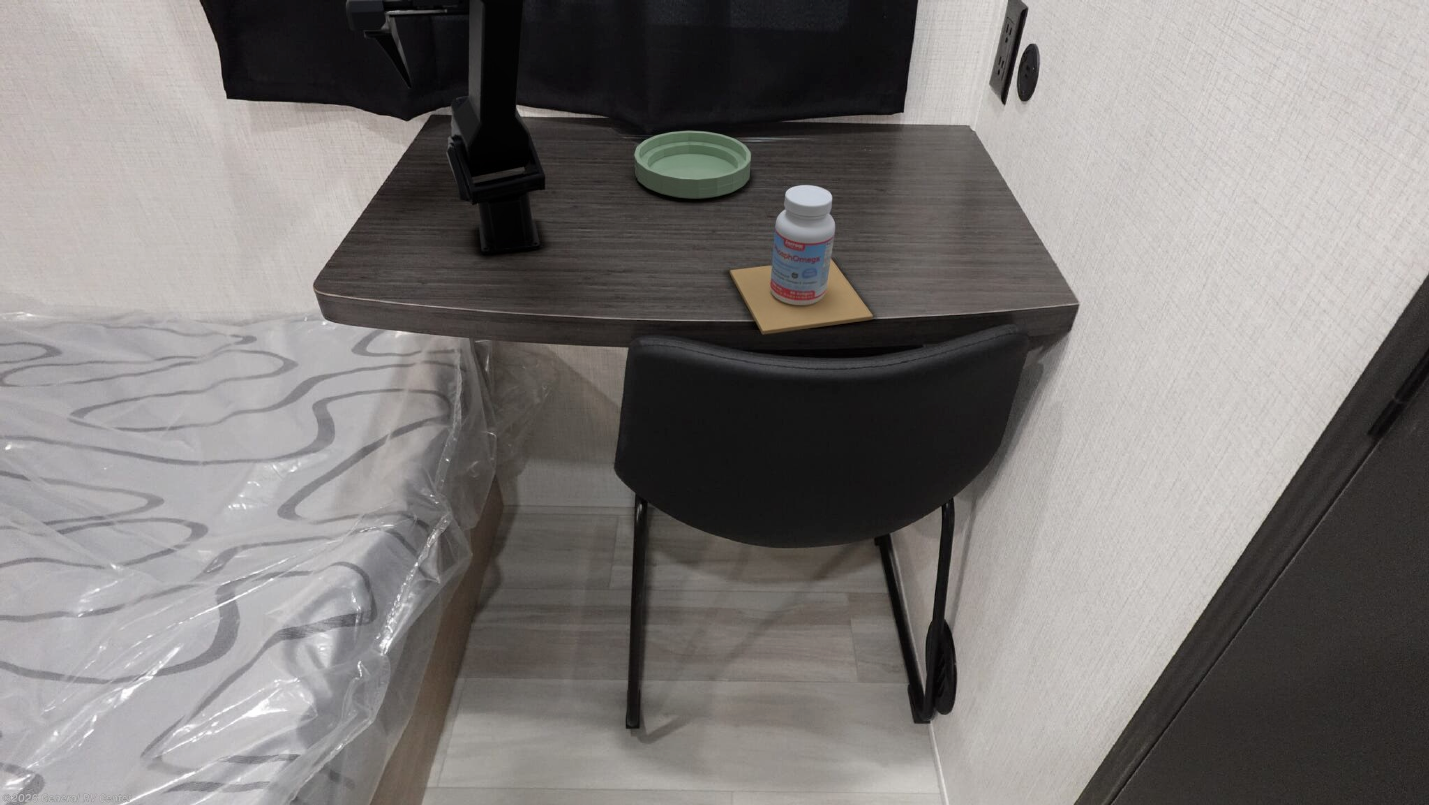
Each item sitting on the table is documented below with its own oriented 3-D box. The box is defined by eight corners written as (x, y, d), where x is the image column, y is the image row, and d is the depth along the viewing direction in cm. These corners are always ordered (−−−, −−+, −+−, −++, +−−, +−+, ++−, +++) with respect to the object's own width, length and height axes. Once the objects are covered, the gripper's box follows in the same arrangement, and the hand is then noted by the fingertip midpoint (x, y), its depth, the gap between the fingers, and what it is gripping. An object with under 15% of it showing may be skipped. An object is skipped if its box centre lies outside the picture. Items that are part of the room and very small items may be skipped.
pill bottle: (761, 299, 88) (769, 201, 81) (779, 272, 92) (788, 176, 85) (817, 313, 86) (829, 214, 79) (832, 284, 91) (846, 188, 84)
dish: (764, 196, 108) (765, 172, 106) (648, 207, 104) (647, 183, 102) (731, 148, 119) (732, 126, 117) (626, 157, 116) (625, 135, 114)
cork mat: (872, 319, 87) (873, 315, 86) (762, 334, 84) (762, 330, 84) (830, 261, 95) (831, 257, 95) (729, 273, 93) (729, 269, 93)
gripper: (510, -82, 96) (526, 58, 106) (338, -79, 92) (371, 65, 103) (517, -59, 88) (533, 89, 98) (329, -55, 84) (366, 99, 94)
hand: (451, 84), depth 99 cm, fingers open, 9 cm apart
